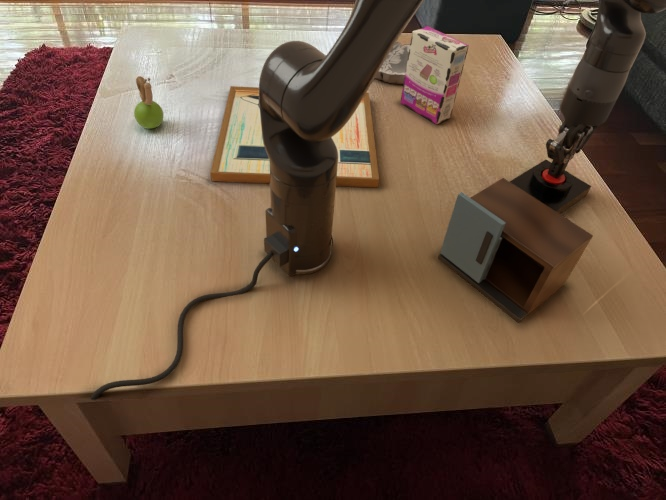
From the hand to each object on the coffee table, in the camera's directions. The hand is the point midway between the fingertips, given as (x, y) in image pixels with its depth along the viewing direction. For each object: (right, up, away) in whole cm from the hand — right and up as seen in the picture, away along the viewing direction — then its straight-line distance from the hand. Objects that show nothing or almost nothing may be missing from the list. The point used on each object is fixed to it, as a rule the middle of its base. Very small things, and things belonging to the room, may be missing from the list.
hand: (554, 175), depth 95 cm
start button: (0, -1, +1) cm, 2 cm away
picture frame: (-47, +9, +11) cm, 49 cm away
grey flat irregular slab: (-26, +31, +33) cm, 52 cm away
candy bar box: (-20, +17, +21) cm, 33 cm away
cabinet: (-13, -17, -11) cm, 24 cm away
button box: (0, -3, +3) cm, 4 cm away
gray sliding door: (-20, -16, -13) cm, 29 cm away
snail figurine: (-76, +11, +10) cm, 78 cm away
